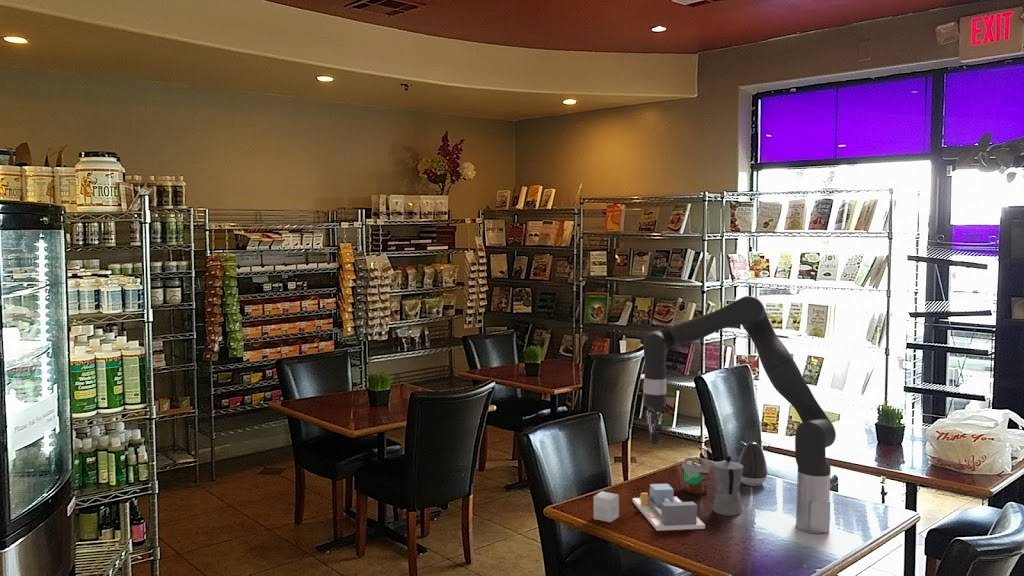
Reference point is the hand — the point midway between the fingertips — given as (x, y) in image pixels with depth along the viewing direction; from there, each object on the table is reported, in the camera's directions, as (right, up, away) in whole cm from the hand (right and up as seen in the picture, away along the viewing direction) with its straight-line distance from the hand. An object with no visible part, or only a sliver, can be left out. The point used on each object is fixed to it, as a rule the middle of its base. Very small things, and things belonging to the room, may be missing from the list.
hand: (653, 442), depth 264 cm
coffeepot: (+22, -20, -11) cm, 32 cm away
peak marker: (-5, -18, -10) cm, 21 cm away
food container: (+15, -19, +10) cm, 26 cm away
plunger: (-1, -18, -10) cm, 21 cm away
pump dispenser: (+38, -18, +18) cm, 46 cm away
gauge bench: (+2, -20, -14) cm, 24 cm away
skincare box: (-18, -20, -17) cm, 32 cm away
